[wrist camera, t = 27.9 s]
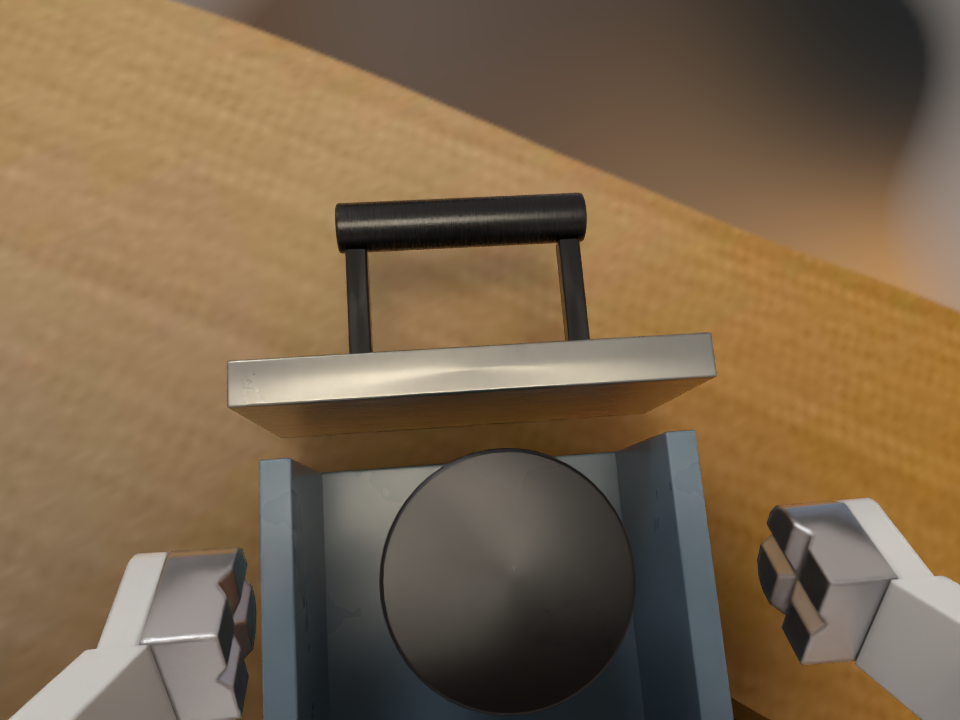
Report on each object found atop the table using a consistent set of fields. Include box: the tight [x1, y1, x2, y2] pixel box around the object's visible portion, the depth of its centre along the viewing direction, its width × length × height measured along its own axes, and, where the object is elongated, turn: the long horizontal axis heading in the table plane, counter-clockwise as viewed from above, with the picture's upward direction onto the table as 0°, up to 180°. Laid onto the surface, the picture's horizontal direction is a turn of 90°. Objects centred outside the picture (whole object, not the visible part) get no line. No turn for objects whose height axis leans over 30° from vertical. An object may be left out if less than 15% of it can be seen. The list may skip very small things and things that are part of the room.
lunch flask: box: [379, 448, 636, 716], centre depth 20 cm, size 5×5×8 cm
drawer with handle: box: [227, 193, 734, 720], centre depth 22 cm, size 18×12×7 cm
